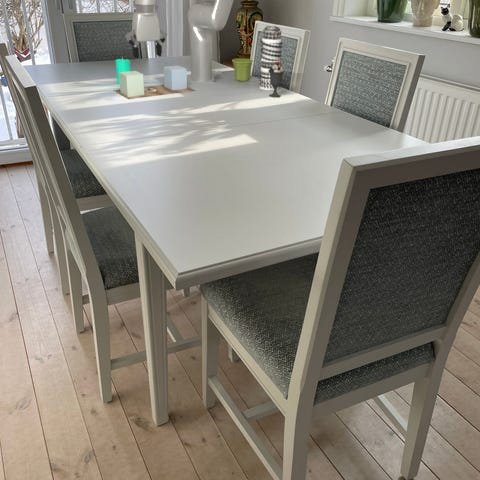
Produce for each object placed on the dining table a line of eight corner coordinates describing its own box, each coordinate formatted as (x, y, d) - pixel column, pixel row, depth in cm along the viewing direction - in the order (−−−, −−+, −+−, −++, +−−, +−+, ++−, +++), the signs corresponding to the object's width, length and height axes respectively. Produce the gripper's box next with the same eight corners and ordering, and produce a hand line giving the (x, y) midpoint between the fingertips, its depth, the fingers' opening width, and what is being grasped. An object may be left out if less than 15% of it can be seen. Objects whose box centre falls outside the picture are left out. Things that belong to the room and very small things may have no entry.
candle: (130, 87, 216) (128, 58, 210) (116, 87, 216) (113, 57, 210) (133, 84, 222) (131, 55, 216) (119, 83, 221) (116, 54, 216)
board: (178, 85, 223) (178, 81, 222) (196, 93, 212) (196, 89, 211) (113, 93, 208) (113, 89, 207) (128, 101, 197) (128, 97, 196)
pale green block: (136, 91, 208) (135, 70, 204) (144, 95, 203) (143, 74, 199) (120, 93, 204) (118, 72, 200) (127, 97, 199) (126, 75, 195)
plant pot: (237, 83, 230) (238, 63, 226) (228, 78, 238) (228, 59, 233) (255, 81, 234) (256, 61, 230) (245, 77, 242) (246, 57, 237)
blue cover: (178, 84, 219) (178, 65, 215) (186, 88, 215) (186, 68, 211) (164, 86, 216) (163, 66, 212) (172, 90, 211) (171, 70, 207)
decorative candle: (276, 91, 219) (280, 29, 207) (255, 89, 222) (258, 27, 209) (281, 87, 227) (286, 26, 214) (262, 84, 229) (265, 24, 217)
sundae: (284, 95, 215) (287, 57, 207) (280, 98, 209) (283, 60, 202) (269, 93, 216) (271, 56, 209) (264, 96, 211) (267, 58, 203)
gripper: (161, 7, 201) (163, 53, 210) (119, 9, 192) (123, 56, 201) (170, 9, 196) (171, 56, 204) (128, 11, 187) (131, 60, 196)
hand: (147, 56), depth 203 cm, fingers open, 9 cm apart
